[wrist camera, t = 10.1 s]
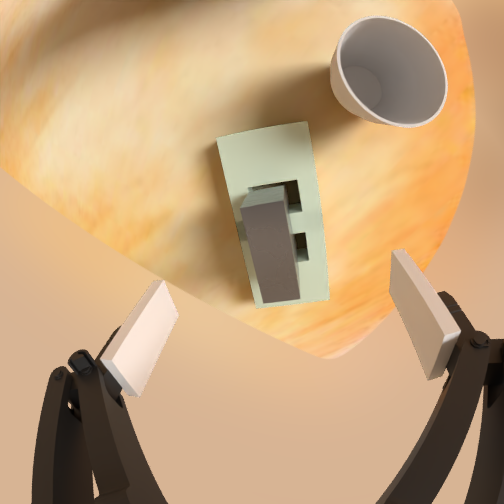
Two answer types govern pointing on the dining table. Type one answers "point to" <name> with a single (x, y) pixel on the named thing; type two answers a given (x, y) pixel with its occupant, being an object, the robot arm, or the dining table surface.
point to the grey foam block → (272, 243)
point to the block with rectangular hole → (301, 214)
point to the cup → (388, 73)
